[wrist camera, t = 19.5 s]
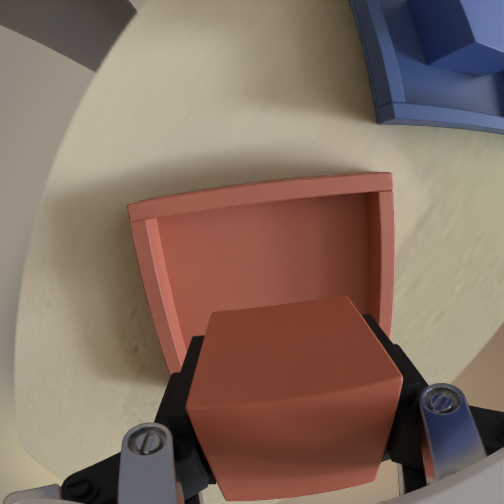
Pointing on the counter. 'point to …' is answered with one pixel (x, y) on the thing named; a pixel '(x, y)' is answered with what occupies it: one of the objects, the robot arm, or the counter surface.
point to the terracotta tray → (264, 250)
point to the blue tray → (421, 76)
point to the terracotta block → (292, 399)
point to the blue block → (461, 34)
